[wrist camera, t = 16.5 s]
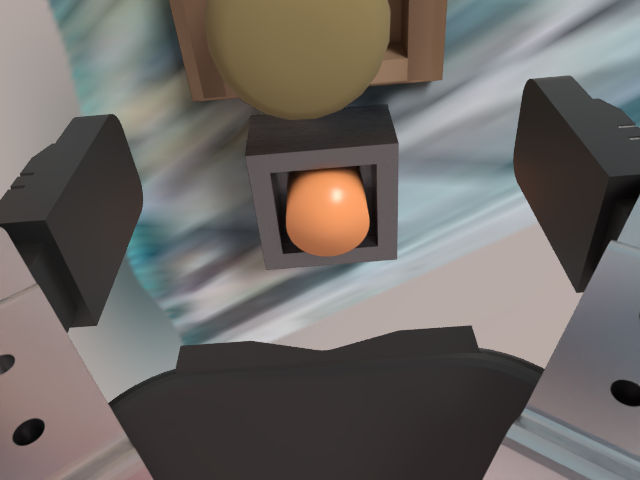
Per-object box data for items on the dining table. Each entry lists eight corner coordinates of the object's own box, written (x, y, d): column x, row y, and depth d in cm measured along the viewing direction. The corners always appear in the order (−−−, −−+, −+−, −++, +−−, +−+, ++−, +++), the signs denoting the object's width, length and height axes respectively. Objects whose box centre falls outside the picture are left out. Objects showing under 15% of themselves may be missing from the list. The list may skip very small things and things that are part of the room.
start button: (361, 149, 28) (368, 186, 26) (364, 213, 31) (370, 253, 28) (282, 155, 28) (281, 193, 26) (291, 218, 31) (290, 259, 28)
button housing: (387, 104, 29) (398, 143, 25) (387, 214, 33) (397, 259, 30) (250, 116, 29) (245, 156, 26) (269, 224, 33) (266, 269, 30)
